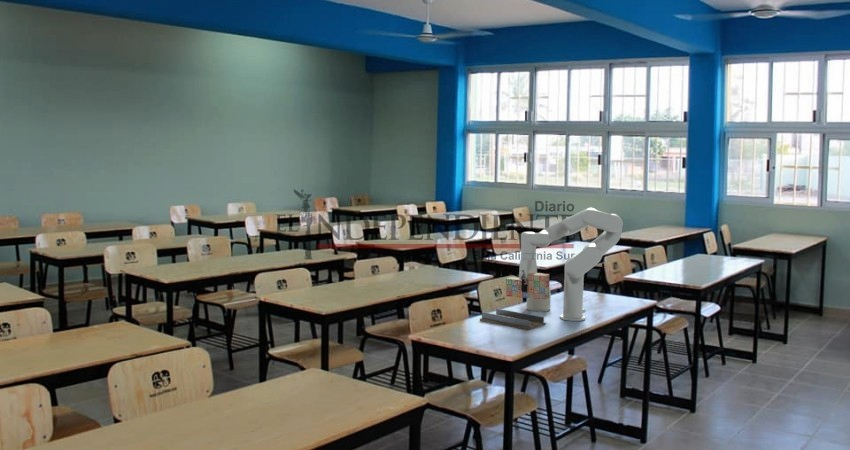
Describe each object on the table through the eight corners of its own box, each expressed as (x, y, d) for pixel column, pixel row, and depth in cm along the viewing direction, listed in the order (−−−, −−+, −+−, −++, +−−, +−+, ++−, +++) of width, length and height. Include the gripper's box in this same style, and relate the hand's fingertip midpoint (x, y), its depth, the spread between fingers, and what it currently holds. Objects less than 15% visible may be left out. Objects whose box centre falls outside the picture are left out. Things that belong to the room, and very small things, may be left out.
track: (498, 315, 387) (499, 308, 386) (545, 324, 368) (545, 316, 368) (479, 320, 375) (480, 312, 374) (527, 330, 356) (527, 321, 356)
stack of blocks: (505, 296, 389) (505, 272, 388) (510, 294, 395) (510, 271, 394) (545, 299, 379) (545, 275, 378) (549, 297, 384) (549, 273, 383)
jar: (551, 307, 410) (552, 275, 408) (549, 312, 397) (550, 279, 396) (527, 306, 413) (528, 274, 411) (524, 310, 400) (525, 277, 399)
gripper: (531, 253, 394) (531, 287, 395) (512, 257, 381) (512, 292, 382) (544, 254, 389) (544, 289, 390) (525, 258, 376) (525, 294, 377)
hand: (528, 290), depth 386 cm, fingers closed on stack of blocks, 7 cm apart
